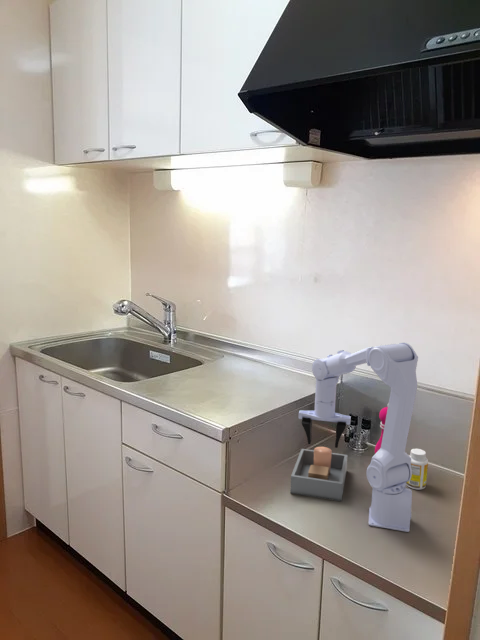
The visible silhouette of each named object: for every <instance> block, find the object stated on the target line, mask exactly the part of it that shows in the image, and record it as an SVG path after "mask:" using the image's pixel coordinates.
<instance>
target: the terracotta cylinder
mask: <svg viewBox="0 0 480 640" xmlns="http://www.w3.org/2000/svg"><path fill="white" fill-rule="evenodd" d="M313 450H314V462H313V465H318V466H325V467H329V475H328V476H330V472H331V455H332V453H333V452H332V449H331V448H330V447H326V446H316V447H314V449H313Z"/></svg>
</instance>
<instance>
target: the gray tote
mask: <svg viewBox="0 0 480 640" xmlns="http://www.w3.org/2000/svg"><path fill="white" fill-rule="evenodd" d="M313 462H314V449H307V448H306V449H305V448H301V449H300V452H299V454H298V457H297V460H296V462H295V464H294V467H293V470H292V472H291V475H290V488H289V489H290V492H289V493H290V494H294V495H300V496H307V497H312V498H318V499H319V498H320V499H324V500H330V501H331V500H332V501H337V502H342V500H343V494H344V488H345V482H346V475H347V470H348V469H347V468H348V454H343V453H336V452H332V455H331V472H330V476H328V480H323V479H317V478H310V477H308V472H309V469H310V466H311V465H313Z"/></svg>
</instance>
